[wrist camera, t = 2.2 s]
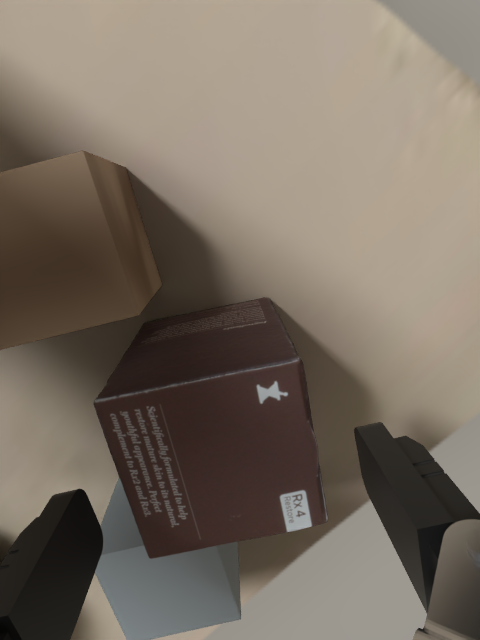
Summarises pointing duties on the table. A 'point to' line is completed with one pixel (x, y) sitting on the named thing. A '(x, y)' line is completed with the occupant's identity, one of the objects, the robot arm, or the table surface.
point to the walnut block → (70, 248)
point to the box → (213, 430)
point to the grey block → (163, 580)
